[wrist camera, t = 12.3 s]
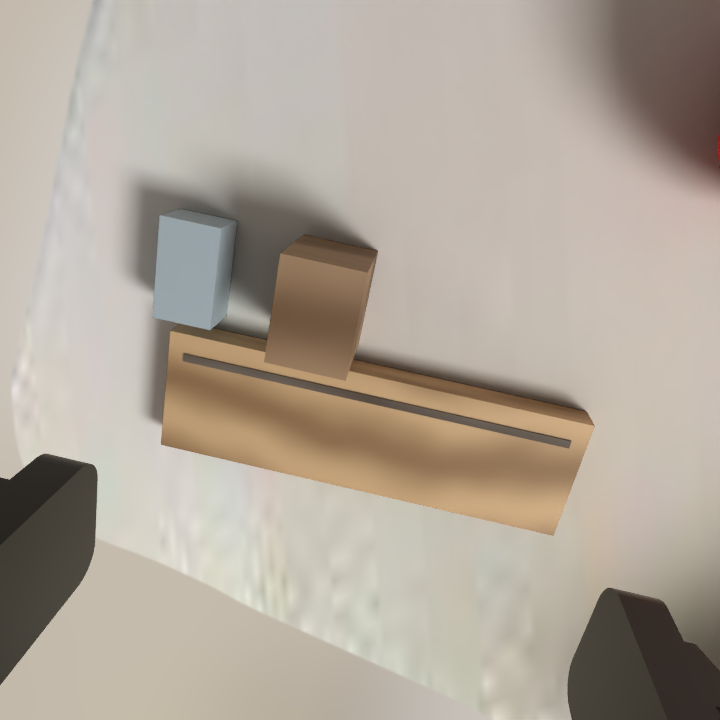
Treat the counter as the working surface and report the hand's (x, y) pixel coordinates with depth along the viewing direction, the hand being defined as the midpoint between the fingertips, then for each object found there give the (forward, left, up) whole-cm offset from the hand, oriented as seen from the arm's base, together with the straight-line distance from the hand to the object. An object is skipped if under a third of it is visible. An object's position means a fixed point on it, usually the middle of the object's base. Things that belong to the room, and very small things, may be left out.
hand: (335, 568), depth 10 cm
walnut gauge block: (+4, -4, -28) cm, 29 cm away
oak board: (+12, 0, -28) cm, 30 cm away
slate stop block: (+4, -12, -28) cm, 31 cm away
